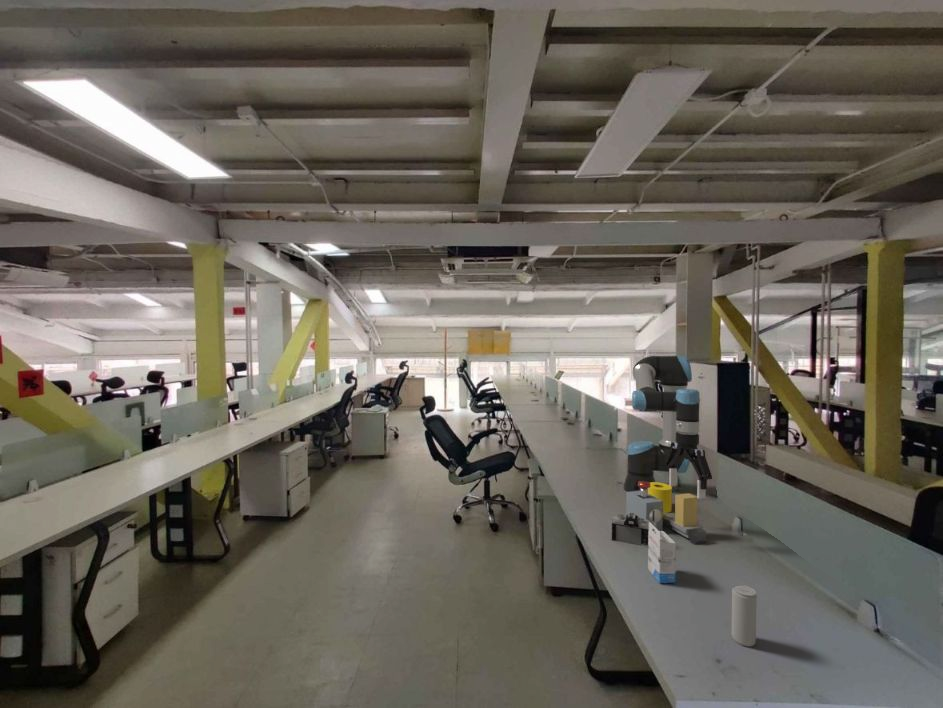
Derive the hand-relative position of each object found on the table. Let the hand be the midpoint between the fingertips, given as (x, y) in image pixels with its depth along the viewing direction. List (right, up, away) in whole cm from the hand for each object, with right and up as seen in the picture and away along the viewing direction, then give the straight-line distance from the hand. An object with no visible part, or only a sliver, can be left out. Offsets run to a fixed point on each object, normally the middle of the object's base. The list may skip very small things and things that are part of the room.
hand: (686, 491), depth 155 cm
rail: (-1, -16, +5) cm, 17 cm away
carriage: (0, -16, +1) cm, 16 cm away
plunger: (-12, -7, +9) cm, 16 cm away
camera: (-20, -16, -3) cm, 26 cm away
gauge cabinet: (-12, -16, +9) cm, 22 cm away
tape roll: (+1, -16, +26) cm, 31 cm away
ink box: (-20, -17, -26) cm, 37 cm away
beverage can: (-14, -17, -54) cm, 59 cm away
